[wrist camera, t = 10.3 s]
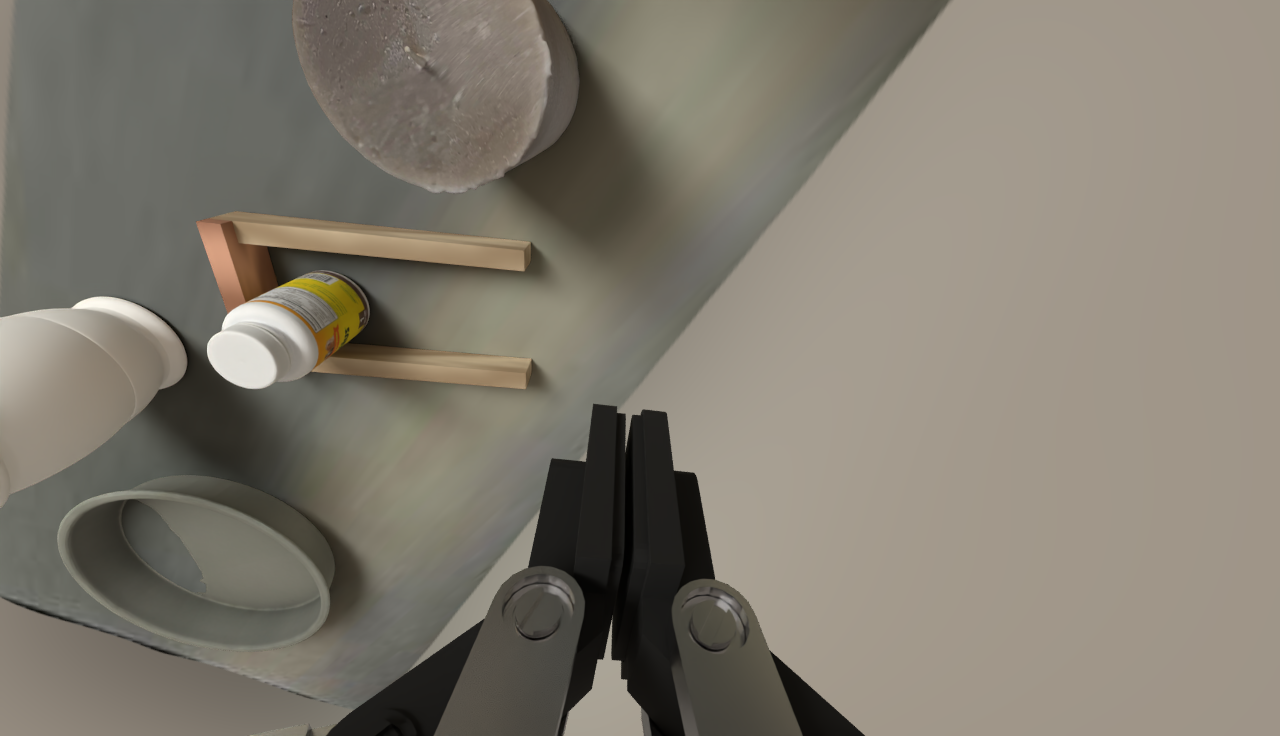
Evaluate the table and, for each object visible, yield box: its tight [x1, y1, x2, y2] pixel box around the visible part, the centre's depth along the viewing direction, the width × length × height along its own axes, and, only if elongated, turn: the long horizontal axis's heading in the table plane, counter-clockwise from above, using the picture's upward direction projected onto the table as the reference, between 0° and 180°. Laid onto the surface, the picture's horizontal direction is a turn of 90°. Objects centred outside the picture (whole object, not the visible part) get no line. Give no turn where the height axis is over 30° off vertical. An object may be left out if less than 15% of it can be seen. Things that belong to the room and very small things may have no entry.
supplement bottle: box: [207, 270, 370, 389], centre depth 32 cm, size 6×6×10 cm
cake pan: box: [57, 475, 335, 652], centre depth 48 cm, size 25×25×4 cm
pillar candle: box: [292, 0, 580, 194], centre depth 23 cm, size 10×10×15 cm
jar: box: [0, 297, 187, 508], centre depth 32 cm, size 11×10×15 cm
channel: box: [196, 211, 532, 389], centre depth 35 cm, size 12×21×4 cm, turn 84°
